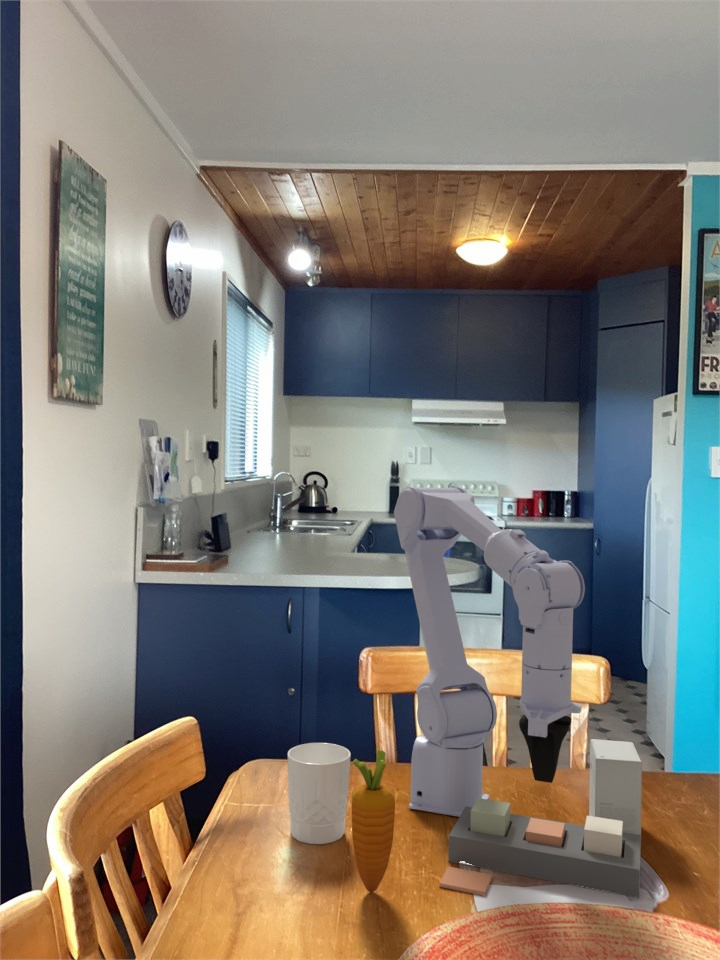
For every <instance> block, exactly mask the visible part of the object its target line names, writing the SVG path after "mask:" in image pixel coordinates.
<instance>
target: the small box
mask: <svg viewBox="0 0 720 960" xmlns="http://www.w3.org/2000/svg"><path fill="white" fill-rule="evenodd" d="M642 783H643V761H642V759H641V757H640V755H639V753H638V751H637V749H636V747H635V744H634V743H633V742H631V741H621V740H611V739H610V740H609V739H608V740H607V739H596V738H591V739H590V742H589V792H588V793H589V797H588V799H589V801H588V803H589V804H588V805H589V806H588V808H589V809H588V816H594V817H600V818H606V819H612V820H619V821H623V832H626V833H632V834H638V835H641V836H642V802H643V801H642V799H643V798H642V790H643V788H642V787H643V785H642Z"/></svg>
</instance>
